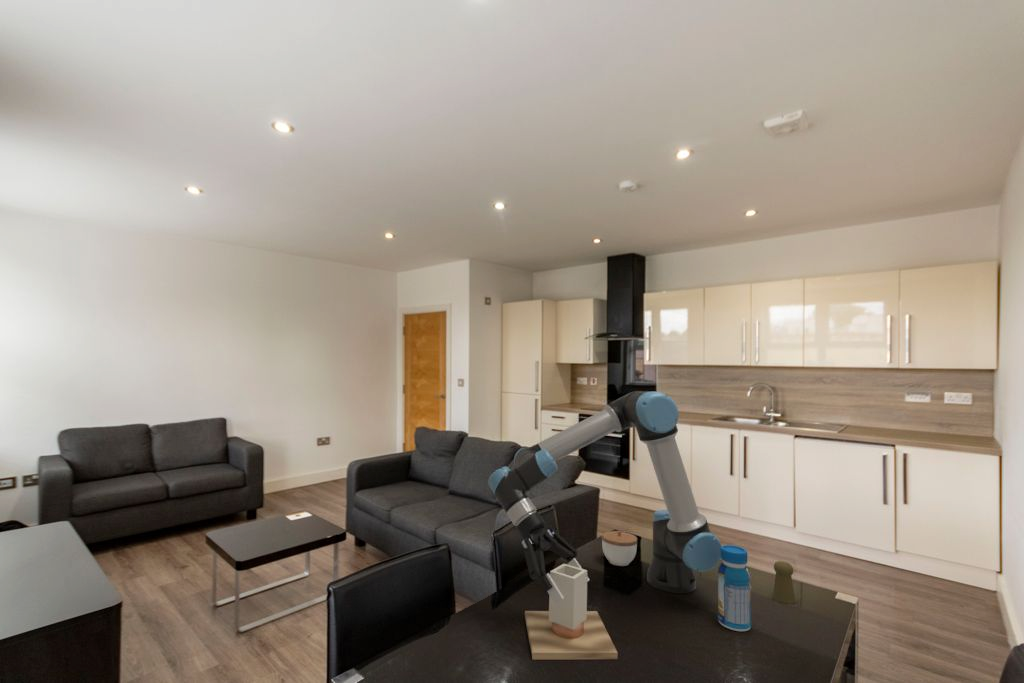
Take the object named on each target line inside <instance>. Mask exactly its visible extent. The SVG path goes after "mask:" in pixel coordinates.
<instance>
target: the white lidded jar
mask: <svg viewBox="0 0 1024 683" xmlns="http://www.w3.org/2000/svg"><path fill="white" fill-rule="evenodd" d="M601 540H602V541H601V542H602V543H601V547H602V552H603V554H604V556H605V558H606V559H607V560H608V562H609V564H611V565H613V566H616V567H617V566H619V567H626V566H629V565H630V563H632V561H633V560H634V559H635V557H636V555H637V549H638V548H637V547H638V537H637V536H636V535H634V534H632V533H629V532H625V531H621V530H617V531H616V530H612V531H606V532H603V533H602V534H601Z"/></svg>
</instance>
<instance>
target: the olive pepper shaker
mask: <svg viewBox="0 0 1024 683" xmlns="http://www.w3.org/2000/svg"><path fill="white" fill-rule="evenodd" d="M773 570H774V572H775V578H774V584H773V593H772V599H773V598H774V599H775V600H774V599H773V600H774V601H776V602H778V601H779V602H778V603H780V602H782V603H781V604H784V603H787V604H786V605H794V603H795V604H796V596H795V591H794V590H795V589H794V585H793V579H792V578H793V577H792V575H793V574H794V567H793V565H792V564H791V563H789V562H788V561H787V562H786V561H783V560H782V561H781V560H779V561H775V562H774V564H773Z"/></svg>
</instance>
